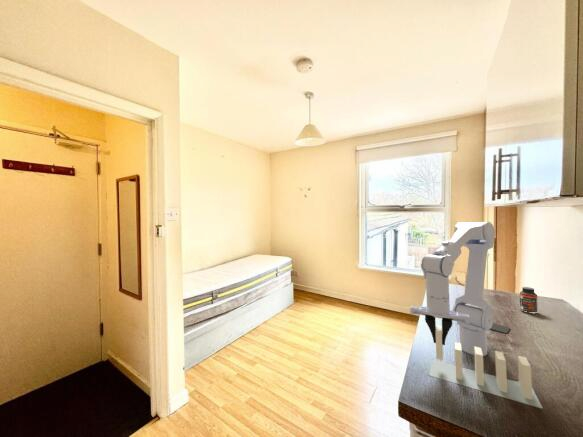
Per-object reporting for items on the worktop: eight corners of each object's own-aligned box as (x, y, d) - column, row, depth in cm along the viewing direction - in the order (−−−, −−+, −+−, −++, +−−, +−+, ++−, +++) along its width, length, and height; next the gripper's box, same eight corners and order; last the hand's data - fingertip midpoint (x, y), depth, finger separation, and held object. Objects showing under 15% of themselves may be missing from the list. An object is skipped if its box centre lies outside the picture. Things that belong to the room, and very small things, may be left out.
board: (431, 363, 74) (431, 359, 74) (531, 390, 61) (531, 385, 61) (429, 379, 66) (429, 375, 66) (543, 413, 54) (542, 408, 54)
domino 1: (455, 369, 68) (454, 342, 69) (462, 371, 68) (460, 343, 68) (456, 378, 65) (455, 349, 65) (462, 380, 64) (461, 350, 64)
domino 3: (496, 380, 64) (495, 350, 64) (503, 382, 63) (502, 352, 63) (499, 390, 60) (498, 358, 60) (507, 392, 59) (505, 360, 59)
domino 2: (475, 375, 66) (474, 346, 66) (482, 376, 65) (480, 347, 65) (476, 384, 62) (475, 353, 62) (484, 386, 62) (482, 355, 62)
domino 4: (519, 386, 61) (517, 355, 61) (527, 388, 60) (525, 357, 60) (523, 397, 57) (522, 364, 57) (532, 400, 57) (530, 366, 57)
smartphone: (507, 333, 91) (461, 321, 102) (507, 336, 91) (461, 323, 102) (510, 327, 95) (466, 316, 107) (511, 330, 95) (466, 318, 107)
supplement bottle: (521, 312, 111) (520, 288, 111) (518, 308, 116) (517, 285, 116) (539, 315, 107) (538, 290, 108) (535, 311, 112) (534, 287, 113)
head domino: (437, 351, 71) (436, 325, 71) (442, 353, 70) (441, 326, 70) (436, 358, 67) (435, 330, 67) (442, 360, 67) (441, 332, 67)
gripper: (408, 295, 70) (409, 342, 70) (469, 304, 62) (471, 356, 62) (411, 289, 76) (412, 332, 75) (467, 296, 68) (469, 344, 67)
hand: (439, 342), depth 69 cm, fingers closed on head domino, 1 cm apart
